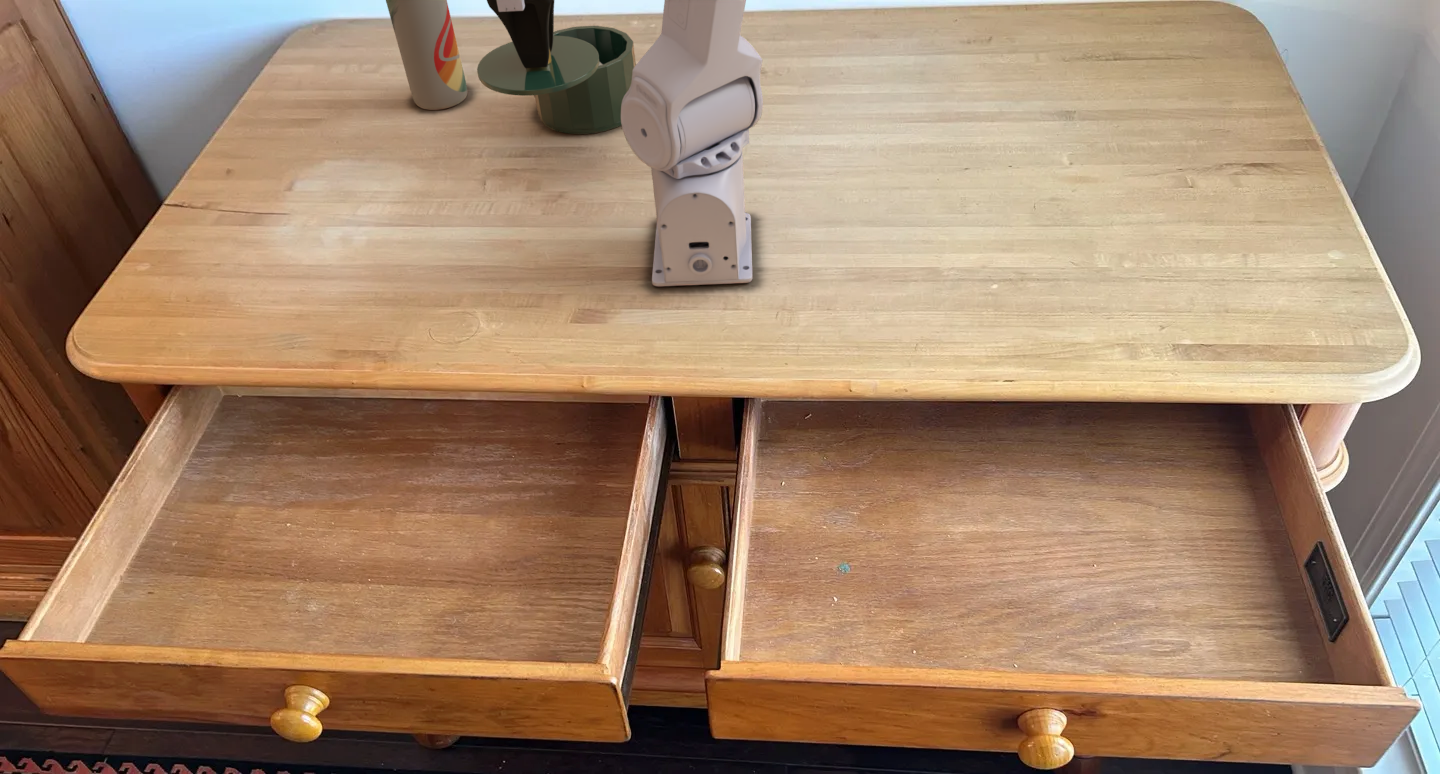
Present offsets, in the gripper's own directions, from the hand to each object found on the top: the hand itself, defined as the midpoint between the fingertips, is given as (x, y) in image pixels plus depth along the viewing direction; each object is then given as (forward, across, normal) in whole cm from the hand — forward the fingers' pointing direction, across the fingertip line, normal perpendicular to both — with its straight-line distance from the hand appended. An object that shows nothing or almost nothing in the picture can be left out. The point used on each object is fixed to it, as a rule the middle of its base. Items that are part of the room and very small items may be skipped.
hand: (538, 58), depth 93 cm
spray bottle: (+10, -13, -14) cm, 22 cm away
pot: (+10, -9, +2) cm, 14 cm away
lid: (+1, 0, 0) cm, 1 cm away
